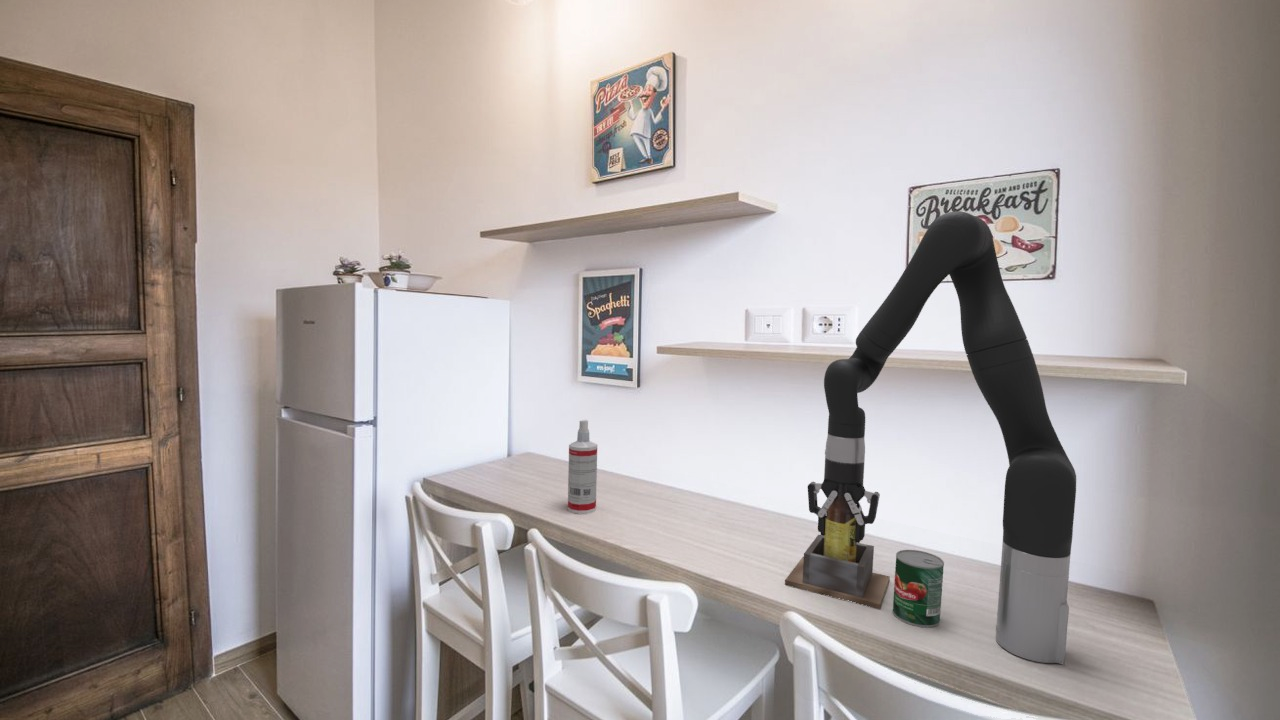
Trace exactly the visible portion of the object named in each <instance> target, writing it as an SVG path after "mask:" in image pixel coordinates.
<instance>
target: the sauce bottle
mask: <svg viewBox="0 0 1280 720" xmlns="http://www.w3.org/2000/svg"><path fill="white" fill-rule="evenodd" d="M836 489H837V491H838V495H837V496H836V498H835V499H834V501H833V502H832V504H831V505H830V506H829V508H828V510H827V512H826V519H825V535H824V536H825V538H824V556H827V557H832V558H836V559H840V560H845V561H849V562H854V563H856V545H857V542H856V525H857V523H858V522H857V520H856V518H855V516H854V515H853V513H852V511H851V509H850V506H849V504H848V502H847V501H846V498H845V496H844V495H845V493H846V491H847V485H846V484H839V483H837V487H836Z"/></svg>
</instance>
